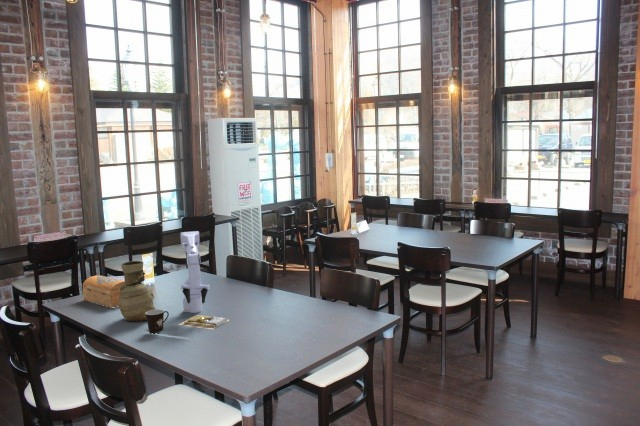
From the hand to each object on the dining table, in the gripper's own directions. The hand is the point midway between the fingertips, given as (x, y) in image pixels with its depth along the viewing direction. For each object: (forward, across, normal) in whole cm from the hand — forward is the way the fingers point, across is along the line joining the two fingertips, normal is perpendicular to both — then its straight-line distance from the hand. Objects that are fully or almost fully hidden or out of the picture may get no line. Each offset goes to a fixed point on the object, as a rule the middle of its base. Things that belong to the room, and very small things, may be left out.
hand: (196, 302), depth 295 cm
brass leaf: (+9, +2, -4) cm, 10 cm away
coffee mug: (+10, -14, -16) cm, 23 cm away
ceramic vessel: (+10, -33, +3) cm, 35 cm away
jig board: (+10, +5, -5) cm, 12 cm away
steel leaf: (+8, +11, -7) cm, 16 cm away
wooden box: (+10, -64, +34) cm, 73 cm away
